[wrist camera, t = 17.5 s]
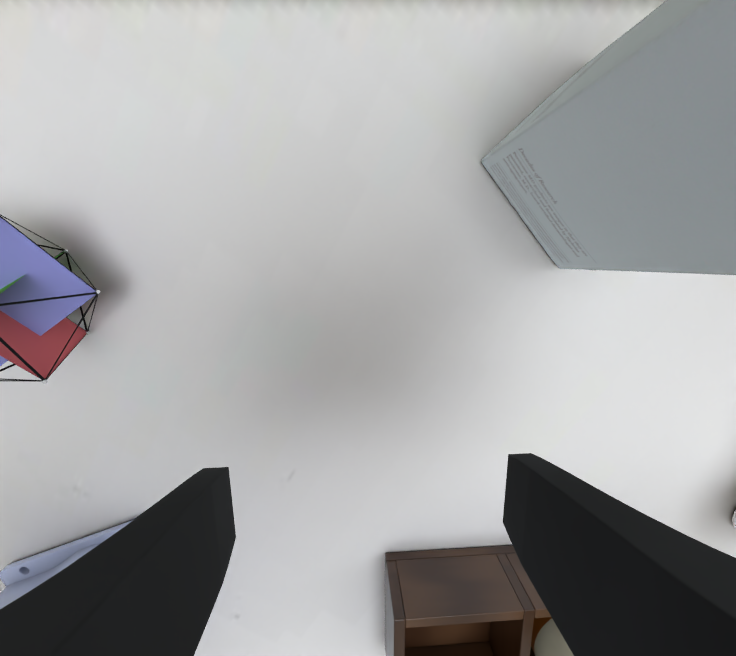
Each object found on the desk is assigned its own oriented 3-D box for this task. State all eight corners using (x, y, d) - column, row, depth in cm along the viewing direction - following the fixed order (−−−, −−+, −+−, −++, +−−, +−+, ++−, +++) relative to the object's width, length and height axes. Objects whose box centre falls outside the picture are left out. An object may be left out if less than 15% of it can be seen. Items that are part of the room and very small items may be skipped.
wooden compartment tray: (385, 646, 23) (393, 728, 19) (385, 552, 21) (393, 620, 17) (589, 630, 24) (638, 705, 20) (603, 539, 22) (659, 600, 18)
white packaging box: (556, 273, 18) (982, 304, 6) (475, 160, 17) (819, -98, 5) (669, 179, 18) (1397, 3, 5) (595, 54, 16) (1356, -568, 4)
